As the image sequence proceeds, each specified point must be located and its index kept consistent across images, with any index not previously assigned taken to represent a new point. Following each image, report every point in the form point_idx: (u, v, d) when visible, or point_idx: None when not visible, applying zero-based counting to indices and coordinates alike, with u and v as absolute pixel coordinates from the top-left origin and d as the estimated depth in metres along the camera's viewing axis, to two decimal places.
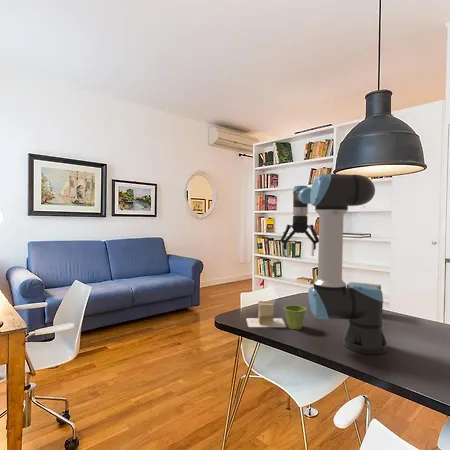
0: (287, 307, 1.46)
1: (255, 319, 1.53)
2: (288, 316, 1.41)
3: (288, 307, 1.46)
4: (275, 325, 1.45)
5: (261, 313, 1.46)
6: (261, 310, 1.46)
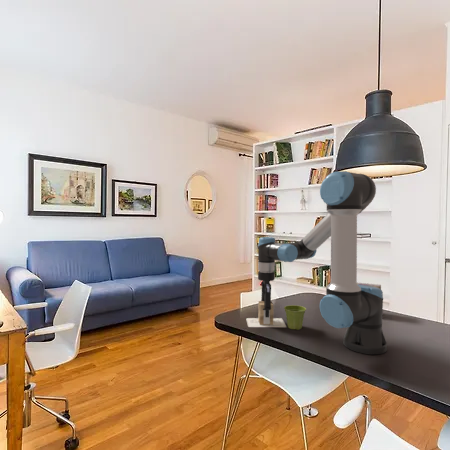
0: (287, 307, 1.46)
1: (255, 319, 1.53)
2: (288, 316, 1.41)
3: (289, 307, 1.46)
4: (275, 325, 1.45)
5: (261, 313, 1.46)
6: (261, 310, 1.46)
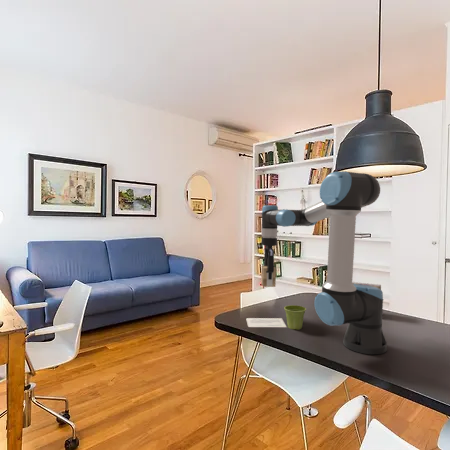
0: (287, 307, 1.46)
1: (255, 319, 1.53)
2: (288, 316, 1.41)
3: (288, 307, 1.46)
4: (275, 325, 1.45)
5: (264, 276, 1.56)
6: (264, 273, 1.56)
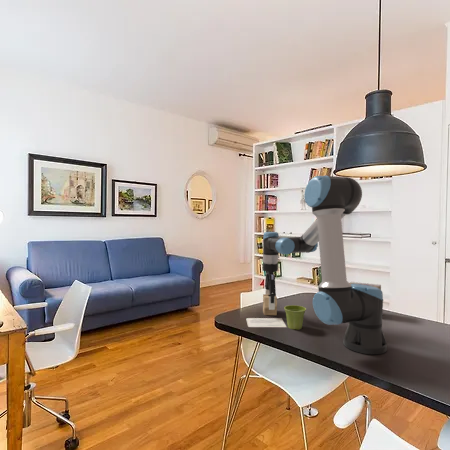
0: (287, 307, 1.46)
1: (255, 319, 1.53)
2: (288, 316, 1.41)
3: (288, 307, 1.46)
4: (275, 325, 1.45)
5: (265, 305, 1.60)
6: (266, 302, 1.60)
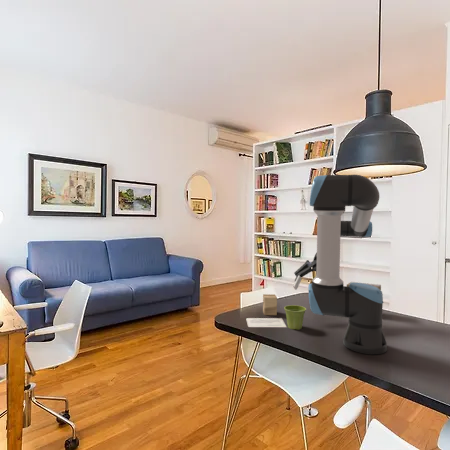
0: (287, 307, 1.46)
1: (255, 319, 1.53)
2: (288, 316, 1.41)
3: (288, 307, 1.46)
4: (275, 325, 1.45)
5: (265, 305, 1.60)
6: (266, 302, 1.60)
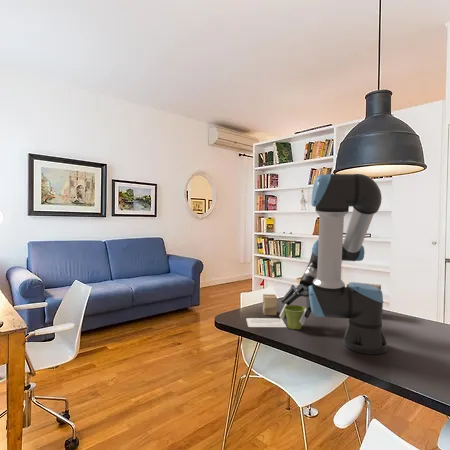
0: (287, 307, 1.46)
1: (255, 319, 1.53)
2: (288, 316, 1.41)
3: (288, 307, 1.46)
4: (275, 325, 1.45)
5: (265, 305, 1.60)
6: (266, 302, 1.60)
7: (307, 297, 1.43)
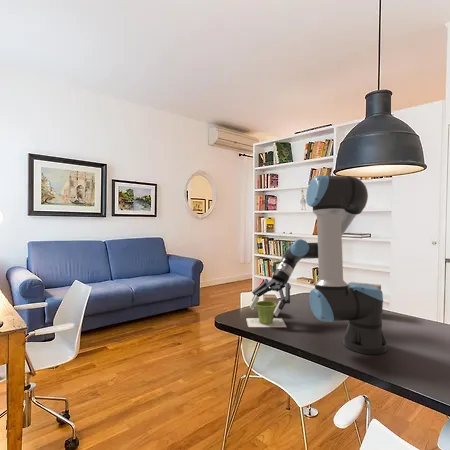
0: (259, 303, 1.52)
1: (255, 319, 1.53)
2: (259, 311, 1.47)
3: (260, 303, 1.52)
4: (275, 325, 1.45)
5: None
6: None
7: (280, 290, 1.49)
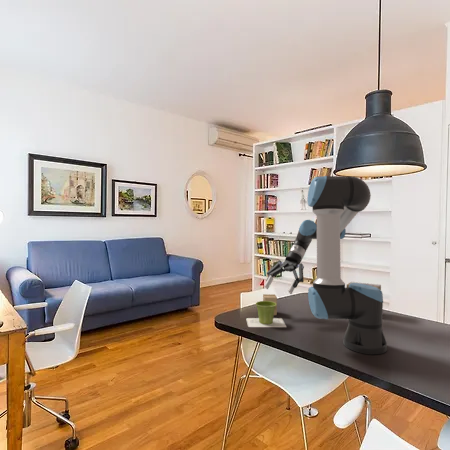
0: (259, 303, 1.52)
1: (255, 319, 1.53)
2: (259, 311, 1.47)
3: (260, 303, 1.52)
4: (275, 325, 1.45)
5: None
6: None
7: (293, 270, 1.57)
